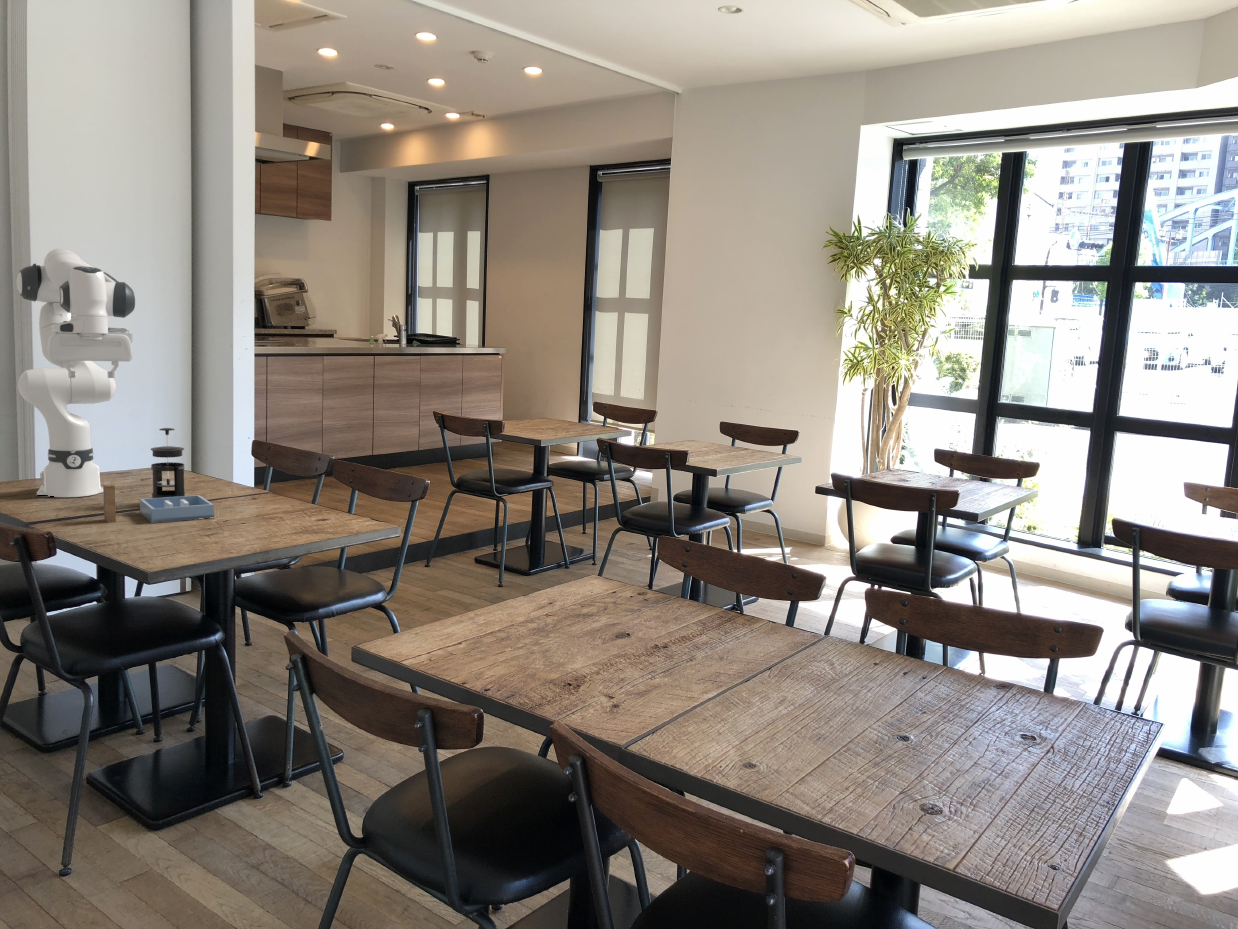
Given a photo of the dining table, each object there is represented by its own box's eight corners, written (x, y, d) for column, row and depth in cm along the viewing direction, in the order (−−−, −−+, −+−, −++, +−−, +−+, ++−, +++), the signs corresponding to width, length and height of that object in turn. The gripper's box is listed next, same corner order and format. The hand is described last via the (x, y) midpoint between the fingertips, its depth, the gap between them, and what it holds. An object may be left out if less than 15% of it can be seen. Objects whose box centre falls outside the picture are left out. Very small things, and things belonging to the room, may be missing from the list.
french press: (143, 503, 278) (141, 427, 274) (171, 499, 286) (170, 425, 282) (167, 508, 272) (165, 431, 269) (196, 504, 280) (194, 429, 277)
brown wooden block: (104, 519, 255) (103, 483, 253) (112, 518, 256) (111, 483, 254) (107, 523, 251) (106, 486, 249) (115, 522, 252) (114, 486, 250)
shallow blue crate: (140, 512, 265) (139, 499, 264) (199, 508, 275) (199, 495, 274) (152, 523, 253) (152, 509, 252) (214, 518, 262) (213, 504, 262)
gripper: (129, 328, 260) (131, 377, 262) (45, 325, 248) (47, 376, 250) (134, 328, 256) (135, 378, 257) (48, 325, 243) (50, 378, 245)
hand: (91, 377), depth 253 cm, fingers open, 8 cm apart
